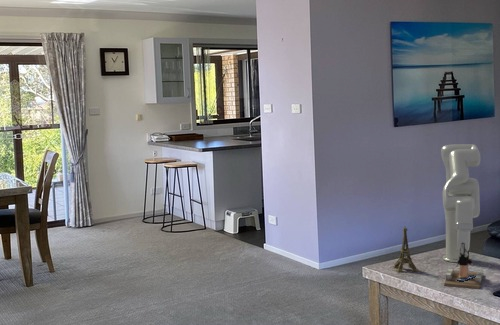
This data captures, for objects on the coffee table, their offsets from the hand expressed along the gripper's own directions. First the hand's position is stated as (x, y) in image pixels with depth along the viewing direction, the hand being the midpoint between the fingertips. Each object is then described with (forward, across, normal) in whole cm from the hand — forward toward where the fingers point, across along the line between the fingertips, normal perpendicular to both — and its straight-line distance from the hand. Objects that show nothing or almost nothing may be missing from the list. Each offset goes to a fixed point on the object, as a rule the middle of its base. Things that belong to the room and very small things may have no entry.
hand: (464, 262), depth 295 cm
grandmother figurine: (+7, +1, 0) cm, 7 cm away
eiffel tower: (+9, -10, -29) cm, 32 cm away
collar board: (+8, +1, 0) cm, 9 cm away
